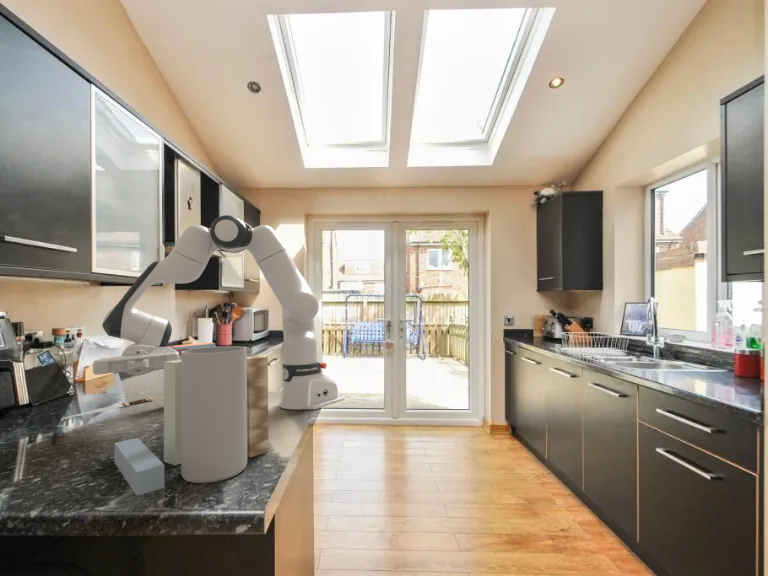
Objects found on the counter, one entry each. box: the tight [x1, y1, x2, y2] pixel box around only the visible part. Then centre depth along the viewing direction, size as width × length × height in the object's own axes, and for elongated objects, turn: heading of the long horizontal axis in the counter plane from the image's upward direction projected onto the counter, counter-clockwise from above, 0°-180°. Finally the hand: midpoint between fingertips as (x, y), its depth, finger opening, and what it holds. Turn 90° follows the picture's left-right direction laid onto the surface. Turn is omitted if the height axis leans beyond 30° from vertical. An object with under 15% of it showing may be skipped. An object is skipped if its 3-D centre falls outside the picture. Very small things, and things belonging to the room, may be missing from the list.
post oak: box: [247, 354, 270, 458], centre depth 91 cm, size 4×4×22 cm
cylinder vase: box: [180, 346, 248, 484], centre depth 81 cm, size 12×12×25 cm
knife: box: [62, 396, 154, 419], centre depth 132 cm, size 27×2×5 cm
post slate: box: [113, 437, 165, 497], centre depth 80 cm, size 4×4×22 cm
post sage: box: [163, 359, 181, 466], centre depth 87 cm, size 4×4×22 cm
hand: (138, 365), depth 102 cm, fingers closed
